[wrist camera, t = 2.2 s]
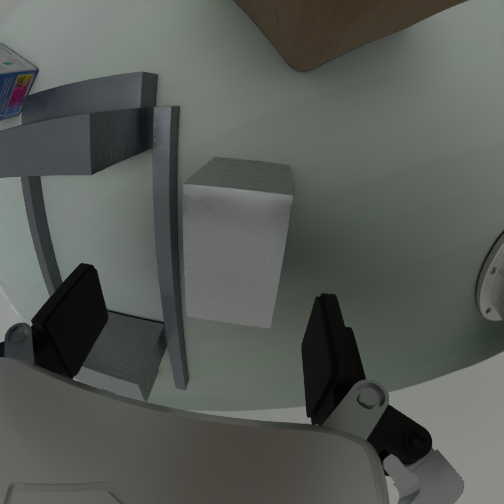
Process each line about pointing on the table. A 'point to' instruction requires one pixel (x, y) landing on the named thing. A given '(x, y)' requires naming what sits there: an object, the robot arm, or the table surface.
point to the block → (333, 24)
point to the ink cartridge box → (13, 82)
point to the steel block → (235, 239)
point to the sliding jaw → (125, 357)
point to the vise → (98, 158)
